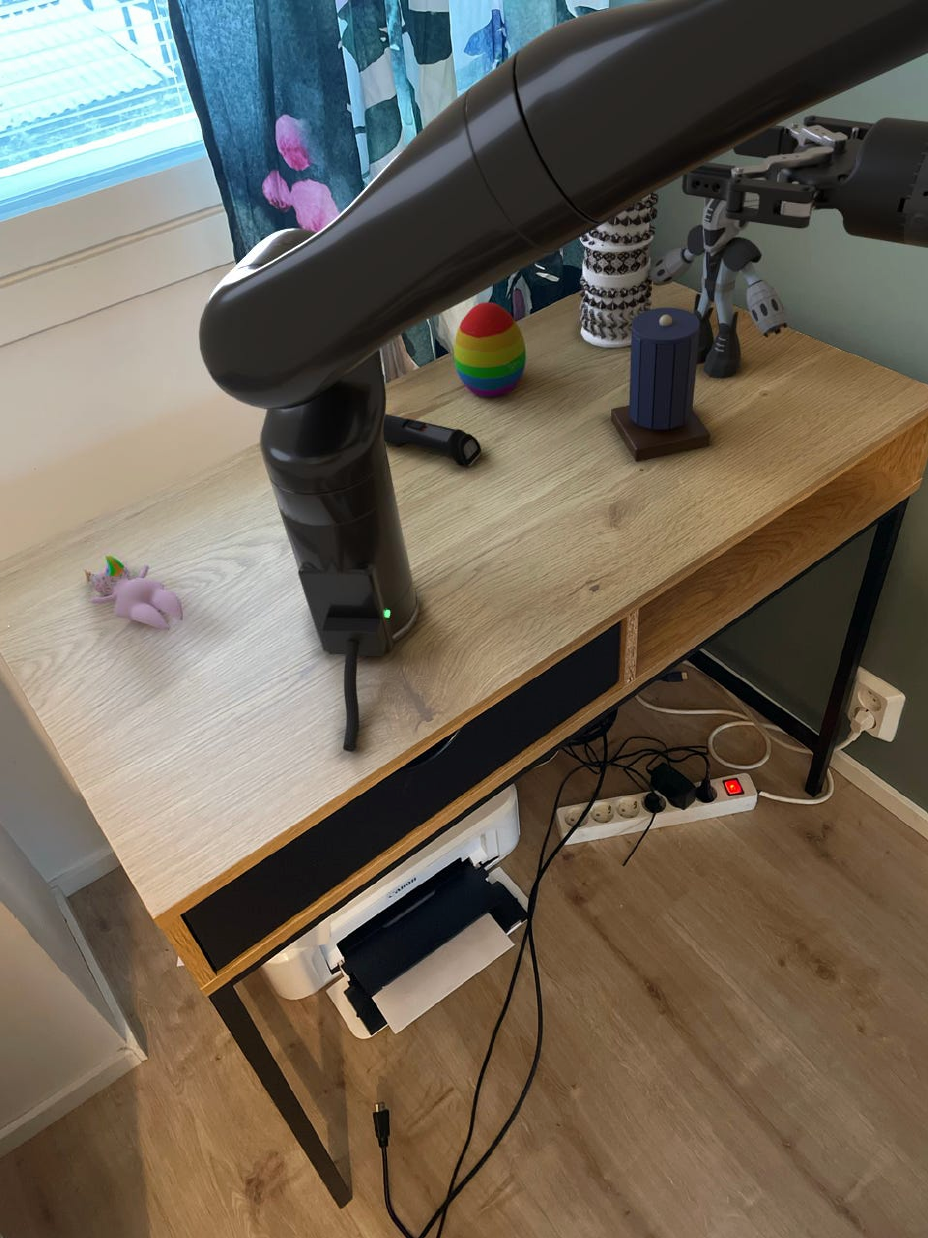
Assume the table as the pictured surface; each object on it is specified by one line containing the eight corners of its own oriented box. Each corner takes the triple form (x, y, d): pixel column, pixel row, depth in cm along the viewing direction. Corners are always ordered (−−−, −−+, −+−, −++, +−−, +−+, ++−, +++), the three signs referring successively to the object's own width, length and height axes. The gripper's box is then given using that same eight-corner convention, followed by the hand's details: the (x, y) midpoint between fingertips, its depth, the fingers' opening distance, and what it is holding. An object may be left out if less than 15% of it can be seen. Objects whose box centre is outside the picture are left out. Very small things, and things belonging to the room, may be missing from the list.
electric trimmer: (368, 421, 103) (363, 397, 101) (484, 451, 96) (480, 426, 94) (349, 439, 101) (343, 415, 99) (465, 470, 94) (462, 445, 92)
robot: (789, 386, 99) (822, 199, 85) (757, 402, 97) (786, 215, 83) (666, 323, 111) (677, 151, 97) (636, 337, 109) (642, 165, 95)
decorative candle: (667, 335, 109) (682, 109, 91) (599, 356, 107) (600, 130, 89) (630, 305, 115) (637, 88, 97) (565, 324, 113) (560, 107, 96)
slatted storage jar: (692, 429, 91) (701, 331, 83) (628, 430, 92) (631, 333, 84) (690, 394, 95) (699, 298, 88) (629, 395, 96) (632, 300, 89)
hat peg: (709, 445, 93) (721, 339, 84) (635, 461, 92) (639, 356, 84) (680, 405, 98) (688, 302, 90) (610, 420, 98) (612, 317, 89)
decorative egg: (535, 395, 103) (531, 313, 96) (466, 410, 102) (457, 329, 95) (516, 360, 109) (511, 281, 101) (451, 374, 108) (441, 295, 101)
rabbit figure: (81, 604, 88) (153, 659, 78) (51, 556, 84) (121, 606, 74) (136, 570, 91) (211, 618, 81) (109, 521, 87) (184, 566, 77)
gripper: (980, 91, 62) (756, 73, 70) (909, 165, 55) (669, 135, 62) (949, 203, 67) (745, 174, 75) (881, 283, 60) (663, 242, 68)
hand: (710, 156), depth 69 cm, fingers open, 8 cm apart
